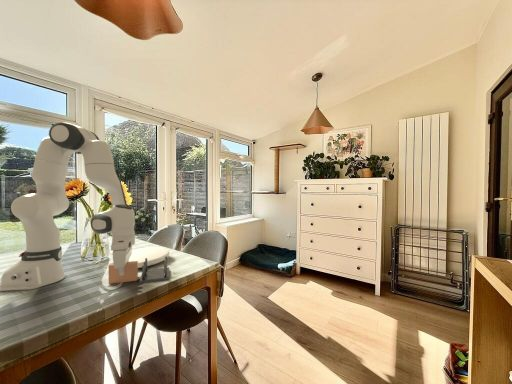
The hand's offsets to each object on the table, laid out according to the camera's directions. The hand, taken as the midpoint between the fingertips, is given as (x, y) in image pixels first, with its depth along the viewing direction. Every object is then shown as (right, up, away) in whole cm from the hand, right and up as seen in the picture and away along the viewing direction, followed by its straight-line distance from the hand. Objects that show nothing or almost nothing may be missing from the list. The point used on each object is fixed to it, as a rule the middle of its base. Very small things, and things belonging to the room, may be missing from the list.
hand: (123, 271), depth 102 cm
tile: (0, -4, 0) cm, 4 cm away
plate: (-4, -4, +25) cm, 26 cm away
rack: (+12, -4, +5) cm, 14 cm away
